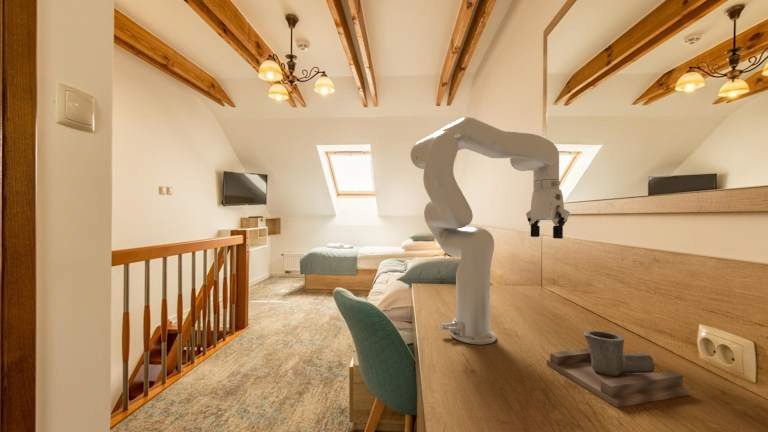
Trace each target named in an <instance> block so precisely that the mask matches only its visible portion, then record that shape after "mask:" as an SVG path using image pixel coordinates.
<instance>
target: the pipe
mask: <svg viewBox="0 0 768 432" xmlns="http://www.w3.org/2000/svg"><path fill="white" fill-rule="evenodd" d="M583 333H584V334H583V335H584V338H585V339H586V341H587V345H588V349H589V350H590V355H591V363H592V368H593V370H595V371H596V372H598V373H600V374H604V375H610V376H618V375H620V374H621V373H648V372H653V373H654V371H655V368H656V367H655V366H656V364H655V360H654V359H653V358H652V356H651V355H649V354H647V353H643V352H641V353H624V343H625V338H624V337H623V336H621V335H619V334H615V333H612V332H608V331H602V330H591V329H590V330H587V331H584V332H583Z"/></svg>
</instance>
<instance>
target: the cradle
mask: <svg viewBox="0 0 768 432" xmlns="http://www.w3.org/2000/svg"><path fill="white" fill-rule="evenodd" d="M549 353H550V355H549V356H550V357H549V359H546V366H548V367H550V368H551V369H553V370H554V371H557V372H558V373H560V374H561V375H563V376H565V377H566V378H568V379H569V380H571V381H573V382H574V383H576V384H577V385H579V386H580V387H582V388H584V389H585V390H587V391H589V392H590V393H592V394H594V395H595V396H597V397H599V398H601V399H602V400H603V401H605V402H607V403H609V404H610V405H611V406H613V407H616V408H622V407H629V406H634V405H639V404H644V403H645V404H647V403H653V402H657V401H662V400H668V399H674V398H681V397H685V396H689V395H690V388H689V387H686V386H684V385H683V384H684V383H683V380H684V379H683V374H680V373H678V372H674V371H673V370H666V371H665V370H664V371H658V372H654V371H653V372H648V373H621V374H620V375H618V376H610V375H604V374H600V373H598V372H596V371H595V370H593V368H592V363H591V355H590V350H589V348H581V349H573V350H564V351H563V350H562V351H554V352H549Z"/></svg>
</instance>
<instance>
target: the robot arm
mask: <svg viewBox="0 0 768 432" xmlns="http://www.w3.org/2000/svg"><path fill="white" fill-rule="evenodd" d="M461 150H470V151H471V152H474V153H477V154H479V155H482V156H486V157H487V158H491V159H509V161H510V165H511V167H513V169H515V170H517V171H520V172H526V171H527V172H528V171H531V172H533V173H532V174H533V191H532V194H531V201H530V210H528V211H527V212H526V213H525V215H526V218H527V222H528V224H529V226H530V237H532V238H540V236H541V235H540V232H541V231H540V225H539V224H540V223H541V221H552V223H553V224H554V225H552V238H553V239H555V240H556V239H558V240H559V239H563V238H564V235H563V234H564V227H565V225H566V222H567V221H568V218H569V216H570V214H571V212H570V211H569V210H567V209H565V204H564V197H563V192H562V189H560V185H561V181H560V152H559V149H558V146H556V144H555V143H554V142H552V141H551V140H549V139H547V138H545V137H543V136H541V135H538V134H534V133H528V132H527V133H526V132H517V131H505V130H501V129H500V128H497V127H495V126H492V125H490V124H488V123H485V122H483V121H481V120H478V119H477V118H474V117H472V116H471V117H470V116H467V117H462V118H460V119H458V120H455V121H454V122H452V123H450V124H448V125H446V126H444V127H443V128H441V129H439V130H437V131H436V132H434V133H433V134H430V135H429V136H427V137H425V138H423V139H421V140H420V141H418V142H416V143H415V144H414V145H413V147H412V148H411V150H410V160H411V163H412V164H413V165H414V166H415V167H416V168H418V169H421V170H423V178H422V179H423V186H424V190H425V192H426V193H427V195H428V198H429V199H430V200H429V201H428V202H427V204H426V205H425V208H424V213H423V215H424V220H425V223H426V226H427V227H428V229H429V230H430V232H431V233H432V236H433V237H434V239H435V240H436V242H437V244H438V245H439V247H440V248H441V250H442V251H443V252H444V253H445V254H447V255H449V256H451V257H455V258H460V260H459V263H458V265H457V268H456V273H455V283H456V284H455V317H453V318H452V320H451V321H449V322H441V323H440V324H439V328H440V331H448V332H449V334H450V336H451V337H452V338H453V339H455V340H457V341H460V342H462V343H467V344H471V345H489V344H492V343H493V342H495V341H496V340H497V339H496V338H497V335H496V333H495V332H494V331H493V330H492V329H491V271H492V270H491V269H492V268H491V267H492V260H493V255H494V250H495V240H494V237H493V235H492V234H491V232H489V230H487V229H485V228H482V227H479V226H469V225H470V224H471V223H472V221H473V218H474V217H473V211H472V207H471V206H470V204H469V202H468V201H467V198H466V197H465V195H464V194H463V192H462V190H461V188H460V186H459V184H458V183H457V180H456V177H455V174H454V164H455V161H456V158H457V154H458V151H461Z"/></svg>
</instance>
